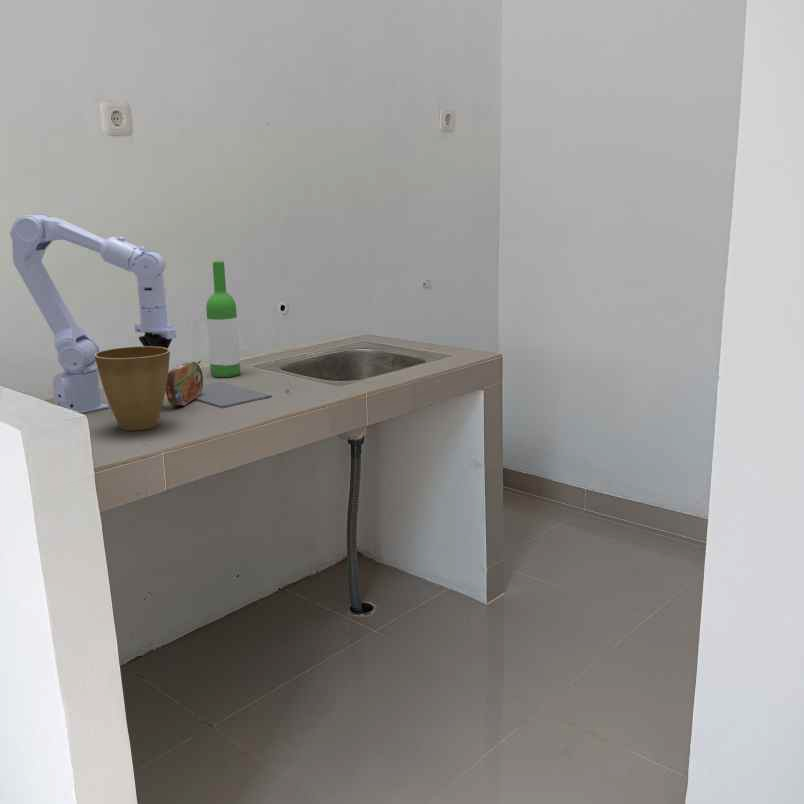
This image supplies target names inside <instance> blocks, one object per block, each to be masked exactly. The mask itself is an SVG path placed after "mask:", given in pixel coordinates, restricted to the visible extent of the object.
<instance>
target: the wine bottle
mask: <svg viewBox="0 0 804 804" xmlns="http://www.w3.org/2000/svg"><path fill="white" fill-rule="evenodd" d="M225 271H226V269H225V262H224V261H223V260H216V261H212V274H213V294H211V295H210V297H209V298H208V299H207V301H206V305H205V306H206V325H207V337H208V340H207V341H208V351H209V352H208V353H209V354H208V355H209V366H210V375H211V376H213V377H215V378H220V377H226V378H233V377H236V376H239V374H240V372H241V366H240V364H241V363H240V362H241V361H240V349H239V347H240V346H239V332H238V331H239V329H238V313H237V305H236V302H235V300H234V298H233V297H232V295H231V294H229V293H228V292H227V286H226V283H227V282H226V272H225ZM232 376H233V377H232Z"/></svg>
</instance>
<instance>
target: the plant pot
mask: <svg viewBox="0 0 804 804" xmlns="http://www.w3.org/2000/svg"><path fill="white" fill-rule="evenodd" d="M170 354H171V350H170V349H169V348H168V349H167V348H163V347H151V346H143V345H142V346H128V347H127V346H125V347H117V348H109V349H105V350H101V351H99V352H98V353H96V354H95V355H94V356H95V360H96V361H95V363H96V365H97V368H98V376H99V378H100V379H99V380H100V382H101V385H102V388H103V391H104V394H105V397H106V399H107V402H108V405H109V408H110V409H111V412H112V413H113V416H114V418H115V420H116V422H117V424H118V426H119V428H120V429H121V430H123V431H129V432H130V431H131V432H135V431H136V432H137V431H144V430H145V431H146V430H150V429H153V428H156V427H157V426H158V424H159V423H158V422H159V419H160V416H161V412H162V410H163V404H164V401H165V397H166V386H167V378H168V373H169V369H170V368H169V366H170Z"/></svg>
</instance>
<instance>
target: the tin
mask: <svg viewBox="0 0 804 804" xmlns="http://www.w3.org/2000/svg"><path fill="white" fill-rule="evenodd" d="M203 377H204V376H203V372H202V369H201V366H200V365H199V364H198V362H195V361H191V362H184V363H182V364H180V365H179V366H177V367H175V368H173V369H171V370H170V371H168V378H167V386H166V391H165V396H166V398H167V401H168V403H169V404H170V405H171V406H176V407H177V406H178V407H179V406H182V407H184V406H187V405H188V404H189V403H191V402H192V401H195V400H194V399H195V398H197V397H198V396H199V395H200V394H201V392H202V388H203V385H204V378H203Z"/></svg>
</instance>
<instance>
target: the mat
mask: <svg viewBox="0 0 804 804" xmlns="http://www.w3.org/2000/svg"><path fill="white" fill-rule="evenodd" d="M267 397H269V398H272V397H273V395H272V394H269V393H264V392H261V391H257V390H254V389H249V388H245V387H242V386H237V385H234V384H230V383H226V382H222V381H216V382H211V383H207V384H206V383H205V384H203V388H202V392H201V394H200V395H199V396H198V397H197V398H195V399H194V400H193V401H197V402H200V401H201V403H204V404H207V403H208V405H210V406H214V405H215V407H217V406H218V407H217V408H221V409H223V408H229V407H232V406H238V405H241V403H242V404H246V402H247V403H251V402H255V401H254V400H256V401H259V399H260V400H264V399H263V398H265V399H268V398H267ZM250 401H251V402H250ZM237 404H238V405H237ZM228 406H229V407H228Z"/></svg>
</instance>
